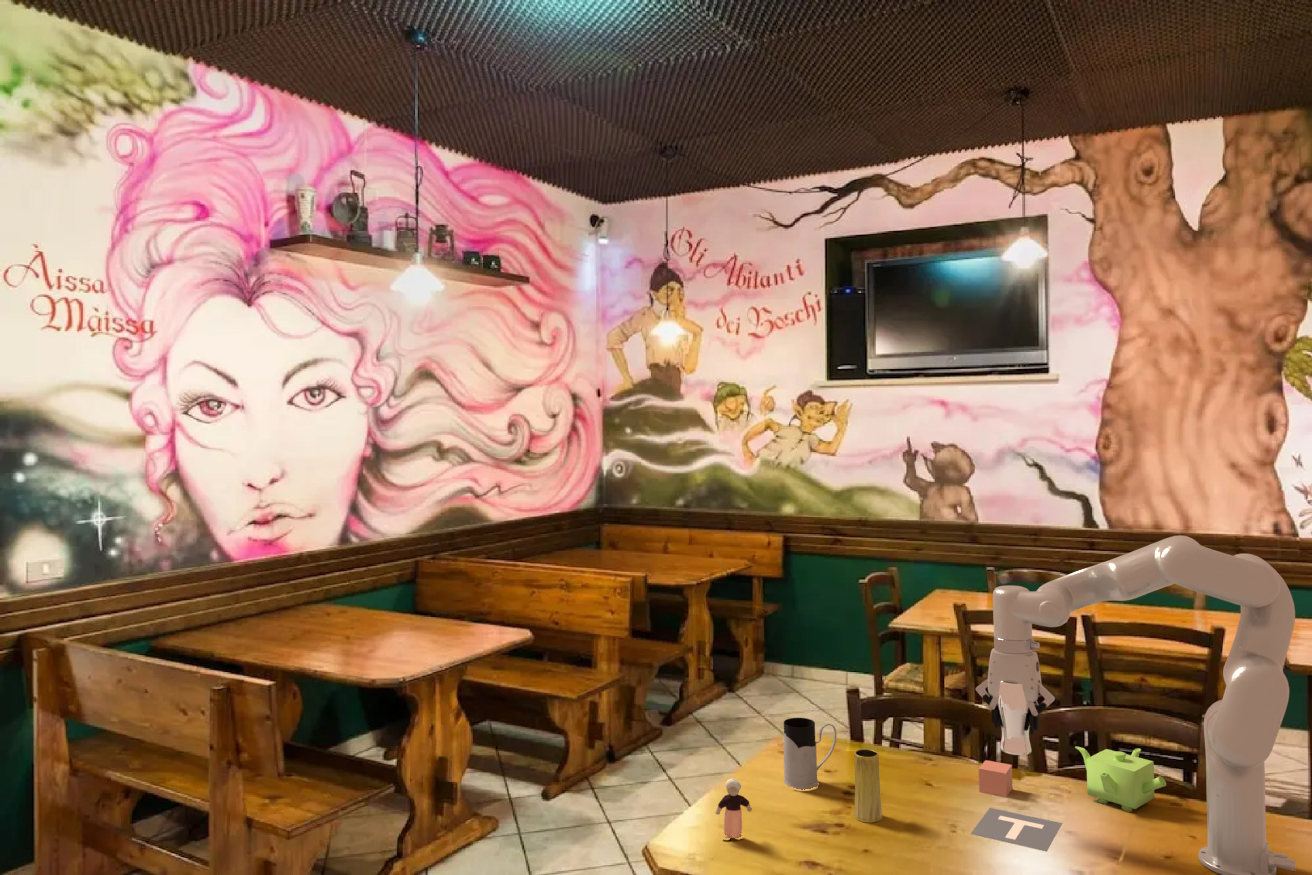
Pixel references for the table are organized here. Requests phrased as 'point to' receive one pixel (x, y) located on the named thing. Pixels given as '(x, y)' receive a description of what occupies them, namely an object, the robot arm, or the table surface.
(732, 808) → the grandmother figurine
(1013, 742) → the beer glass
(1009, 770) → the block
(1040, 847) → the board
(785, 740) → the grey and black mug
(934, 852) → the table surface
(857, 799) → the vase
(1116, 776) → the kettle
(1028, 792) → the table surface
